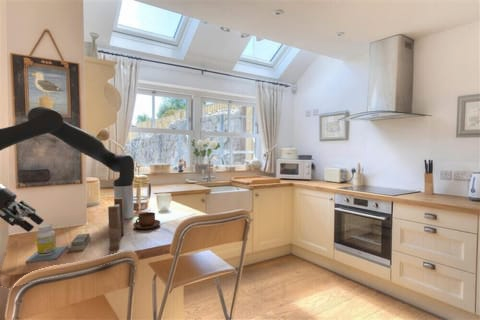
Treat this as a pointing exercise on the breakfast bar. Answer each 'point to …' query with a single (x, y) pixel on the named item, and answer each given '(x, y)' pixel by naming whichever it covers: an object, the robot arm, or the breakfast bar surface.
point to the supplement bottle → (46, 240)
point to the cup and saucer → (146, 221)
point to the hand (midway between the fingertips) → (36, 226)
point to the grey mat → (56, 255)
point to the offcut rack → (114, 229)
